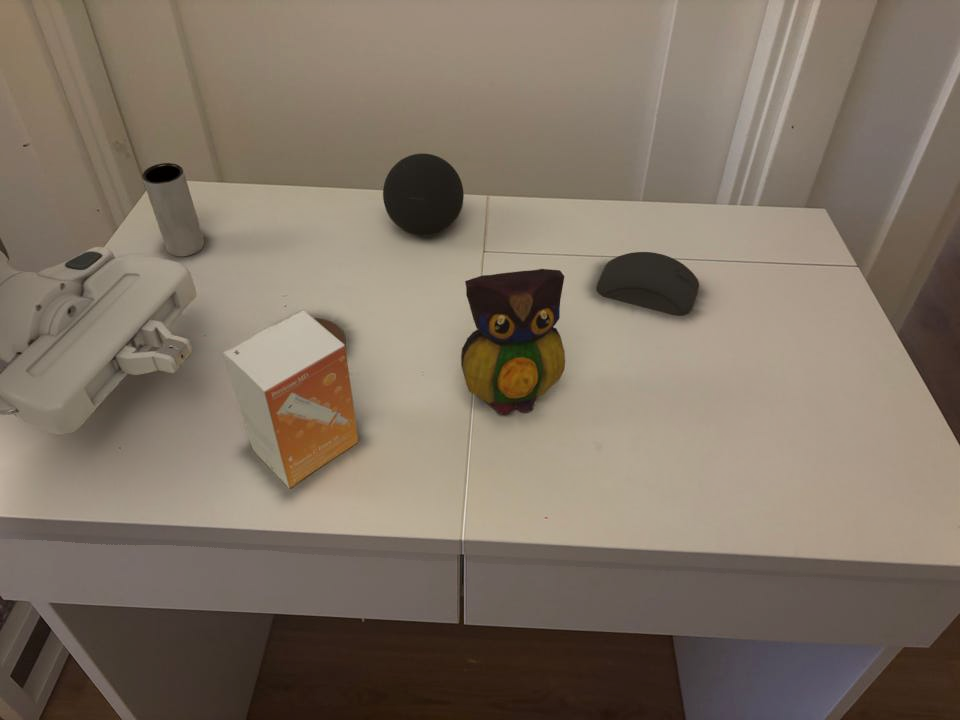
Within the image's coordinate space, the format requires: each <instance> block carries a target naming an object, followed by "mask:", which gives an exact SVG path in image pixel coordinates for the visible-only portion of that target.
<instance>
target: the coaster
mask: <svg viewBox="0 0 960 720" xmlns="http://www.w3.org/2000/svg"><path fill="white" fill-rule="evenodd" d="M313 318H314V319H315V320H316V321H317V322H318V323H320V324H321V325H322V326H323V327H324V328H325V329H327V330H328V331H329V332H330V333H331V334H332V335H333V336H335V337H336V338H337V339H338V340H339V341H341V342H342V343H343V344H344V345H345V346H346V337H345V333H344V331H343V330H342V328H341V327H340V326H339V325H337V324H336V323H335V322H333V321H331V320H328V319H325V318H320V317H319V318H318V317H313Z"/></svg>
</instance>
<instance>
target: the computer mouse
mask: <svg viewBox="0 0 960 720" xmlns="http://www.w3.org/2000/svg"><path fill="white" fill-rule="evenodd" d="M699 289H700V281H699V279H698V278H697V276H696V275H695V274H694V272H693V271H692V270H691V269H690V268H689V267H688V266H687V265H685V264H684V263H682V262H681V261H679V260H677V259H676V258H673V257H671V256H669V255H666V254H662V253H657V252H652V251H634V252H629V253H624V254H621V255H619V256H616V257H614V258H612V259H610V260H609V261H608V262H607V263H605V266H604V268H603V270H602V272H601V275H600V277H599V279H598V281H597V283H596V292H597V293H598V295H600V296H602V297H605V298H606V299H607V298H608V299H611V300H615V301H619V302H621V303H626V304H631V305H634V306H638V307H642V308H646V309H650V310H653V311H657V312H660V313H665V314H668V315H673V316H685V315H688V314H689V313H690V312H691V311H692V310H693V307H694V305H695V301H696V298H697V296H698V291H699Z"/></svg>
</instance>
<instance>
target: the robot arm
mask: <svg viewBox="0 0 960 720" xmlns="http://www.w3.org/2000/svg"><path fill="white" fill-rule="evenodd" d="M9 261H10V256H9V253H8V250H7V248H6V246H5V244H4V242H3V241H2V238H1V237H0V361H2V362H4V363H6V364H4V366H3V367H1V369H0V415H1V416H11V415H13V416H15V417H16V418H18V419H19V420H22V421H23V422H24V423H27V424H29V425H30V426H33V427H35V428H37V429H41V430H43V431H45V432H48V433H51V434H54V435H57V436H61V435H67V434H70V433H74V432H77V431H78V430H79V429H80V428H81V427H82V425H83V424H84V423H85V422H87V420H88V419H89V417H91V415H93V413H94V412H95V411H96V410H97V409H98V407H100V405H102V403H103V402H104V401H105V400H106V399H107V398H108V396H109V395H110V394H111V393H112V392H113V391H114V390H115V388H116V387H117V386H118V385H119V384H120V383H121V381H123V379H124V378H125V377H126V376H127V375H133V376H141V375H143V374H149V373H154V372H158V371H161V372H164V373H169V374H175V373H176V372H177V370H178V369H179V368H180V366H182V364H183V363H184V362H185V361H186V360H187V358H189V356H190V355H191V353H192V352H193V347H192V344H191V342H190V340H189V339H187V338H186V337H182V336H179V335H174V334H173V333H172V332H171V331H170V330H169V328H170V327H171V326H172V324H173V323H174V322H175V321H176V320H177V319H178V318H179V317H180V315H181V314H182V313H183V312H184V311H185V310H186V309H187V308H188V307H189V305H190V304H191V303H192V302H193V301H194V300H195V299H196V298H197V293H198V292H197V289H196V285H195V281H194V279H193V277H192V274H191V272H190V270H189V269H188V268H187V266H186V265H185V264H183V263H181V262H178V261H175V260H172V259H166V258H163V257H157V256H152V255H146V254H140V253H139V254H138V253H126V254H121V255H117V256H115V254H114V252H113V251H112V250H111V249H110V248H108V247H104V246H95V247H94V246H93V247H92V248H90V249H87V250H86V251H84V252H82V253H80V254H78V255H76V256H75V257H73V258H71V259H68V260H66V261H63V262H62V263H59V264H56V265H54V266H50V267H48V268H47V267H46V268H45V269H42V270H40V271H38V272H36V271H21V270H18V269H15V268H14V267H13V266H11V265H10V264H9ZM152 347H154V348H158V349H157V350H152V351H149V350H150V349H151V348H152Z"/></svg>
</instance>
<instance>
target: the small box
mask: <svg viewBox="0 0 960 720" xmlns="http://www.w3.org/2000/svg"><path fill="white" fill-rule="evenodd" d="M314 318H315V317H313V316H312V315H311V314H310V313H308V312H307V311H306V310H300V311H299V312H296V313H295V314H292V315H291V316H289V317H287V318H285V319H283V320H281V321H280V322H277V323H276V324H274V325H271V326H269V327H267V328H264V329H263V330H261V331H260V332H258V333H256V334H254V335H253V336H251V337H249V338H248V339H246V340H244V341H242V342H240V343H238V344H237V345H235V346H233V347H231V348H229V349H227V350H226V351H223V353H222V354H223V357H224V361H225V364H226V367H227V370H228V373H229V377H230V380H231V383H232V386H233V390H234V393H235V396H236V400H237V402H238V403H237V404H238V407H239V410H240V413H241V416H242V420H243V424H244V426H245V429H246V432H247V435H248V439H249V442H250V445H251V448H252V450H253V452H254V453H255V454H256V455H257V456H258V457H259V458H260V459H261V460H262V461H263V462H264V463H265V464H266V465H267V467H269V469H270V470H271V471H272V472H273V473H275V475H276V476H277V477H278V478H279V479H280V481H282V483H284V484H285V486H286V487H287V488H288V489H292V488H293V487H294V486H295V485H298V483H299V482H301V481H302V480H304V479H305V478H307V477H308V476H310V475H311V474H312V473H314V472H315V471H317V470H318V469H320V468H321V467H323V466H325V465H326V464H327V463H329V462H330V461H332V460H333V459H335V458H336V457H338V456H340V455H341V454H342V453H344V452H346V451H347V450H349V449H350V448H352V447H353V446H355V445H356V444H358V443H359V433H358V427H357V420H356V419H357V418H356V413H355V405H354V398H353V391H352V386H351V379H350V371H349V363H348V356H347V349H346V344H345V345H344V344H343V343H342V342H341V341H339V340H338V339H337V338H336V337H335V336H333V335H332V334H331V333H330V332H329V331H328V330H327V329H325V328H324V327H323V326H322V325H321V324H320V323H318V322H317V321H316V320H315V319H314Z"/></svg>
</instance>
